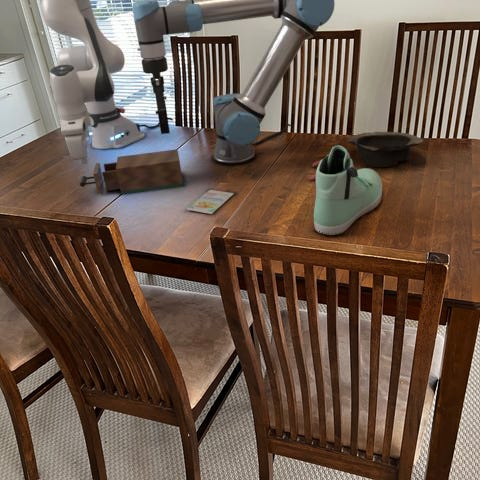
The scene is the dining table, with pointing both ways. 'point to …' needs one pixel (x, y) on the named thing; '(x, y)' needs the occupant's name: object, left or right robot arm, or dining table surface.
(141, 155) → the cabinet
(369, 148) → the stone bowl
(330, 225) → the sneaker
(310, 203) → the dining table surface
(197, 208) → the baking ingredient package
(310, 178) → the candy cane
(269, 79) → the right robot arm
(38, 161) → the dining table surface
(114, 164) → the drawer
